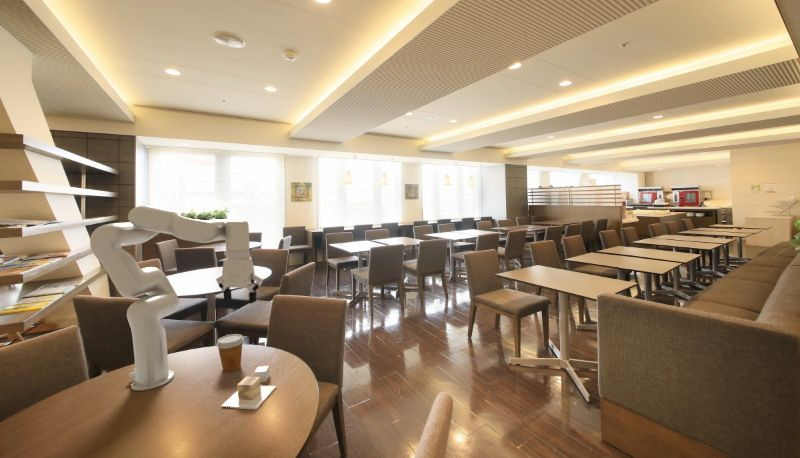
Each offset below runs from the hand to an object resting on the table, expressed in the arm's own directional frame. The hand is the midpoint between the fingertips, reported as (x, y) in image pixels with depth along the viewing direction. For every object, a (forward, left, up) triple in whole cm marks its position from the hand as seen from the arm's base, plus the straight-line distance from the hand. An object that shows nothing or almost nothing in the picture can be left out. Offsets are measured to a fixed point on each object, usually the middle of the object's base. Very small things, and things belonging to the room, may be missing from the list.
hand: (240, 301), depth 116 cm
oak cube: (+8, -9, -29) cm, 31 cm away
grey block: (+6, +2, -30) cm, 30 cm away
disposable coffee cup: (-11, +9, -30) cm, 33 cm away
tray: (+8, -9, -30) cm, 32 cm away
